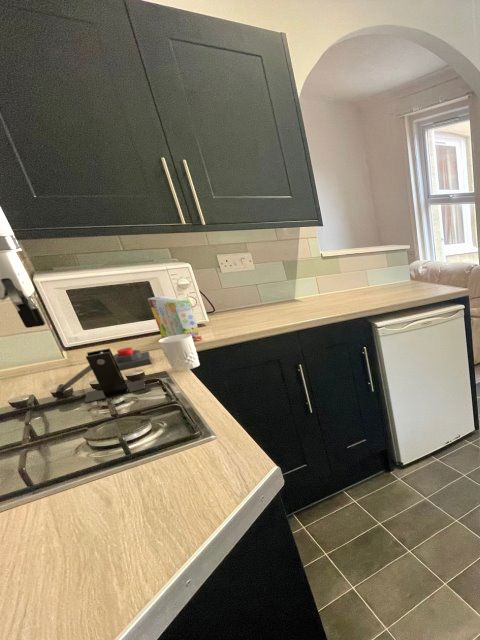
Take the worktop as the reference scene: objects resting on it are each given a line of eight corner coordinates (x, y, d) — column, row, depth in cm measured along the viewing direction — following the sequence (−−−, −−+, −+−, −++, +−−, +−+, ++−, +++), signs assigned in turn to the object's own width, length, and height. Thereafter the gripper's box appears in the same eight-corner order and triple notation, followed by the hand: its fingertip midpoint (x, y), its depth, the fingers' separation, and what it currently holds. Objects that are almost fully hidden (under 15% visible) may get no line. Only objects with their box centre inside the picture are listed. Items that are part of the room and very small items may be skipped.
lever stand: (86, 407, 105) (63, 363, 100) (88, 396, 111) (67, 354, 106) (147, 392, 112) (128, 350, 107) (146, 382, 118) (128, 343, 113)
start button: (119, 357, 128) (116, 352, 128) (119, 354, 131) (117, 349, 130) (134, 354, 130) (132, 349, 130) (134, 352, 133) (131, 346, 132)
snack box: (204, 339, 156) (189, 299, 149) (187, 343, 151) (171, 302, 145) (177, 332, 166) (162, 294, 160) (160, 336, 161) (144, 298, 155)
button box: (110, 374, 126) (104, 361, 124) (111, 365, 133) (105, 354, 131) (152, 365, 132) (147, 353, 130) (150, 357, 139) (146, 346, 137)
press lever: (62, 398, 103) (51, 392, 101) (64, 391, 107) (54, 385, 105) (110, 361, 106) (100, 354, 105) (111, 355, 111) (101, 349, 109)
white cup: (187, 375, 122) (174, 342, 118) (164, 374, 123) (151, 342, 119) (209, 365, 129) (197, 334, 125) (187, 364, 131) (175, 333, 126)
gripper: (-22, 245, 96) (19, 323, 103) (-42, 249, 85) (6, 336, 93) (25, 242, 100) (61, 317, 108) (11, 246, 89) (53, 328, 97)
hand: (36, 325), depth 100 cm, fingers closed
